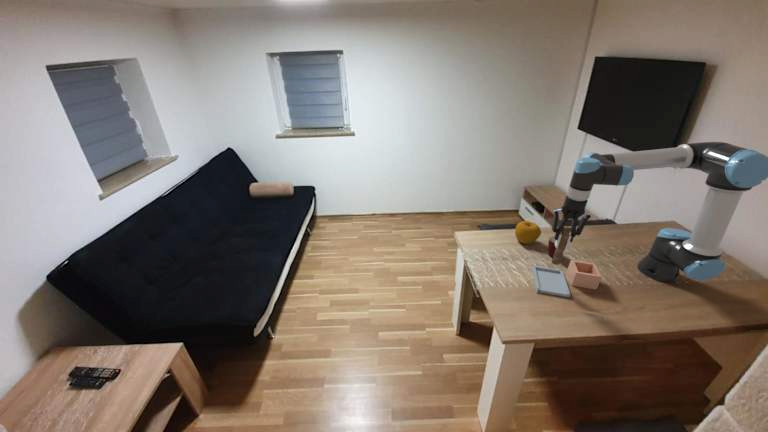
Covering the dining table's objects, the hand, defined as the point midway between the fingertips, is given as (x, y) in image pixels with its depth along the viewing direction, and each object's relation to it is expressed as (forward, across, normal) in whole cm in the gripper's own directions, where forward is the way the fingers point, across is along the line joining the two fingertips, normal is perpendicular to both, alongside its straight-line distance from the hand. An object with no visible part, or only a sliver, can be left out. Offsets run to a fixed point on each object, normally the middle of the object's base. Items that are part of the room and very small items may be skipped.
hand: (560, 246), depth 130 cm
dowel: (+9, 0, 0) cm, 9 cm away
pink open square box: (+20, -14, -5) cm, 25 cm away
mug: (+20, -6, -22) cm, 31 cm away
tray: (+20, 0, 0) cm, 20 cm away
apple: (+21, +7, -35) cm, 41 cm away
